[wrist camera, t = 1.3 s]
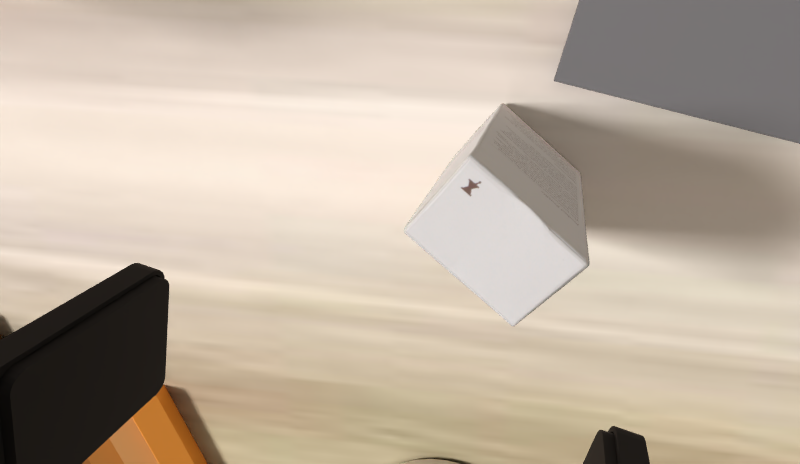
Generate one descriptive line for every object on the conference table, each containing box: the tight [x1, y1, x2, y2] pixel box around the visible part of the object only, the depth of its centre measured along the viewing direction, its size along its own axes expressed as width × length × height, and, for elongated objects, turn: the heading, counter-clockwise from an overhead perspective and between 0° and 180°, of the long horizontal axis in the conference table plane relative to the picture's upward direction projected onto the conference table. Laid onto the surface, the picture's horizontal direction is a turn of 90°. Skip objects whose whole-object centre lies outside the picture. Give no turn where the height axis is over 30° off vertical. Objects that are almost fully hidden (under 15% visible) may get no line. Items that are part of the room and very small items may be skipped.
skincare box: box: [404, 103, 589, 326], centre depth 26 cm, size 6×4×12 cm
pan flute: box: [0, 336, 207, 464], centre depth 48 cm, size 25×3×25 cm
